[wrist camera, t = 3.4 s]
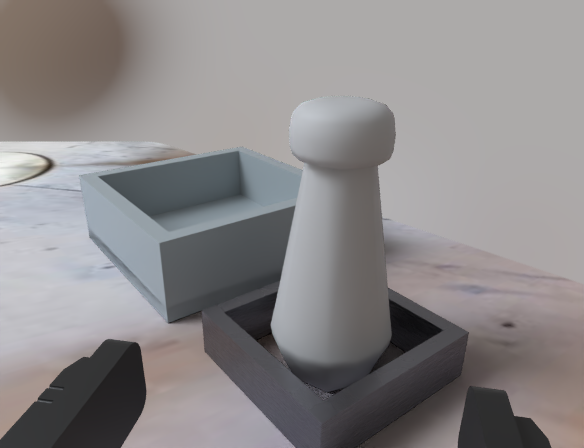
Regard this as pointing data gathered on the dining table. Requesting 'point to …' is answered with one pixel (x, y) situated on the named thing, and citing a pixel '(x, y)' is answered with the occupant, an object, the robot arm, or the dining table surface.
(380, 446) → the dining table surface
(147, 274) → the bin
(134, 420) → the robot arm
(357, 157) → the salt shaker
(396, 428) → the dining table surface
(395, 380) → the dark grey square tray
